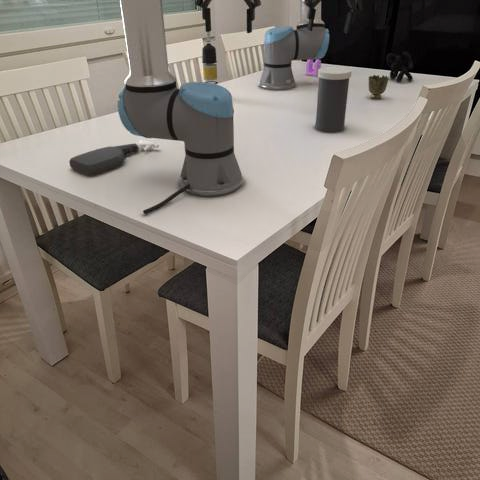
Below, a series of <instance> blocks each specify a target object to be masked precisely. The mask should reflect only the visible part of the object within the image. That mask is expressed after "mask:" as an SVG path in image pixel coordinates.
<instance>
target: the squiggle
mask: <svg viewBox="0 0 480 480" xmlns="http://www.w3.org/2000/svg"><path fill="white" fill-rule="evenodd" d="M401 57H402V59H401ZM391 59H392V60H391ZM393 60H394V61H393ZM385 61H386V64H387V67H390V68H391V70H390V72H389V78H390V79H391V80H395V79H396V81H397V82H399V83H400V82H402V81H403V79H404V76H406V78H407V80H408V81H412V80H413V79H414V77H413V75H412V74H411V73H410V72H409V71H410V70H412V69H413V68H414V64H413V61H412V57H411V54H410V53H409V52H408V51H403V53H402V54H401V55H396V54H394V53H392V52H390V53H387V55H386V57H385ZM406 62H407V65H408V66H407V67H405V66H404V65H405V64H406ZM400 70H401V71H400Z"/></svg>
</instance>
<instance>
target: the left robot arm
mask: <svg viewBox="0 0 480 480" xmlns="http://www.w3.org/2000/svg"><path fill="white" fill-rule="evenodd" d="M212 1H213V0H196V1H195V6H197V7H200V8H201V12H202V13H201V16H202V17H201V18H202V20H203V21H204V24H205V33H206V32H210V33H211V32H212V15H211V7H209V5H210V4H211V3H212ZM243 1H244V2H245V4H246V5H247V6H248V8H246V34H251V33H252V32H253V21H255V19H256V8H258V7H260V6H261V5H262V2H261V0H243ZM119 3H120V9H121V17H122V24H123V32H124V37H125V45H126V51H127V58H128V67H129V74H128V76H127V77H126V78H125V80H124V86H123V87H122V89H121V90H120V92H119V94H118V100H117V113H118V116H119V119H120V121H121V124H122V126H123V127H124V128H125V130H126V131H128V132H129V133H130V134H131V135H133V136H137V137H141V138H144V139H159V140H166V141H167V140H169V141H179V142H183V143H184V154H185V155H184V158H183V164H182V168H181V171H180V177H179V178H180V179H179V183H180V184H179V185H180V188H179V189H178V190H176V191H175V192H174V193H172V194H170V195H169V196H168V197H167V198H165V199H164V200H162V201H160V202H158V203H157V204H155V205H152V206H150V207H148V208H146V209H143V210H142V213H143V214H144V215H147V214H149V213H152V212H153V211H156V210H158V209H160V208H162V207H164V206H166V205H167V204H169V203H170V202H172V200H174V199H175V198H177V197H178V196H180V195H181V194H182V193H184V192H186V193H187V194H190V195H194V196H199V197H221V196H224V195H229V194H232V193H234V192H235V191H237V190H239V189H240V188H241V187H242V185H243V174H242V171H241V168H240V165H239V163H238V160H237V157H236V154H235V132H234V131H235V129H234V127H235V126H234V122H235V121H234V114H235V109H234V104H233V96H232V93H231V91H230V90H228V89H227V88H226V87H224V86H222V85H219V84H218V83H217V84H215V83H214V82H207V81H199V82H198V81H189V82H185V83H183V84H181V85H180V87H179V88H177V87H178V86H177V77H176V76H175V75H174V74H173V73H171V71H170V70H169V60H168V52H167V51H168V50H167V40H166V30H165V21H164V18H165V17H164V10H163V9H164V7H163V0H119Z"/></svg>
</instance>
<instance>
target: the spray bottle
mask: <svg viewBox="0 0 480 480" xmlns="http://www.w3.org/2000/svg"><path fill="white" fill-rule="evenodd" d="M159 148H160V145H159V144H158V143H155V142H151V141H148V140H144V139H139V140H138V141H137V142H135V143H129V144H128V143H126V144H122V145H113V146H105V147H100V148H97V149H94V150H90V151H87V152H83V153H81V154H78V155H74V156H73V157H70V159H69V161H68V162H69V167H70V168H71V169H72V170H74V171H75V172H78V173H81V174H83V175H85V176H89V177H90V176H91V177H92V176H95V175H99V174H102V173H105V172H107V171H110V170H113V169H116V168H118V167H120V166H122V165H123V164H124V163H125V158H126V156H127V155H131V154H133V153H138V151H140V150H143V151H144V152H146V151H147V150H149V149H159Z"/></svg>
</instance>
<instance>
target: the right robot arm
mask: <svg viewBox="0 0 480 480" xmlns="http://www.w3.org/2000/svg"><path fill="white" fill-rule="evenodd" d="M346 2H347V5H348V7H349V9H350V11H348V12H347V15H346V20H345V24H344V29H343V33H344V34H346V35H350V31H351V26H352V24H354V23H355V20H356V15H357V14H358V13H359V12H362V11H363V1H362V0H346ZM325 25H326V24H325V22H324V21H323V19H322V0H299V21H298V23H297V24H296V27H295V28H296V29H294V27H293V26H291V25H285V26H276V27H272V28H269V29H267V30H266V31H265V33H264V41H263V45H264V46H263V49H264V50H263V70H262V73H261V77H260V80H259V87H260V88H261V89H264V90H269V91H285V90H290V89H291V90H292V89H294V87H295V86H296V81H295V76H294V72H293V69H292V62H293V61H307V60H310V59H312V60H313V61H314V60H316V59H319V60H321V59H323V58H324V57H325V56H326V54H327V51H328V48H329V45H330V44H329V43H330V30H329V29H328V28H325Z"/></svg>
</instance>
